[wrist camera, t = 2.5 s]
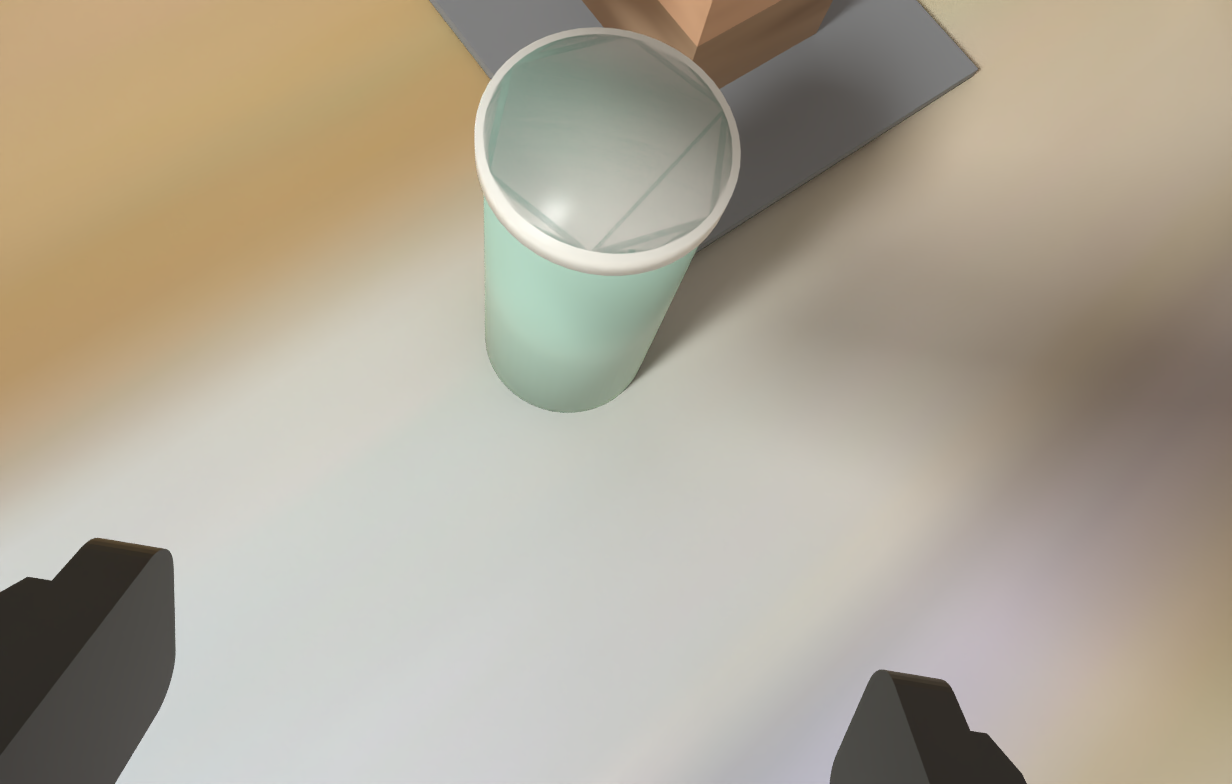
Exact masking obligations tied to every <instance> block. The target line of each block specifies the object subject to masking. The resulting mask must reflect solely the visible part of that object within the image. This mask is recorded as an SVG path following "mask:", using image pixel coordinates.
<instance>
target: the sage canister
mask: <svg viewBox="0 0 1232 784" xmlns="http://www.w3.org/2000/svg"><path fill="white" fill-rule="evenodd" d="M740 157H741V149H740V139H739V133H738V129H737V125H736V121H735V119H734V116H733V114H732V111H731V109H730V106H729V105H728V103H727V101H726V99H725V97H724V96H723V94H722V92H721V91H720V90H719V88H718V87H717V86H716V84H715V83H714V82H713V80H712V79H711V78H710V77H709V76H708V75H707V74H706V73H705V72H704V71H703V70H702V69H701V68H700V67H699V66H698V65H697V64H696V63H694V62H693V61H692V60H691V59H690V58H688V57H687V56H685V55H684V54H682V53H681V52H679V51H678V50H676V49H675V48H673V47H671V46H669V45H667V44H665V43H663V42H661V41H659V40H656V39H654V38H651V37H648V36H646V35H643V34H639V33H635V32H632V31H627V30H621V29H615V28H599V27H593V28H578V29H573V30H567V31H562V32H559V33H555V34H552V35H549V36H546V37H544V38H542V39H539V40H537V41H535V42H533V43H531V44H529V45H528V46H526V47H524V48H523V49H521V50H519V51H518V52H517V53H516V54H514V55H513V56H512V57H511V58H510V59H508V60H507V61H506V62H505V63H504V64H503V65H502V67H501V68H500V69H499V70H498V71H497V72H496V73H495V75H494V76H493V78H492V79H491V81H490V82H489V84H488V85H487V87H486V89H485V92H484V94H483V96H482V98H481V101H480V104H479V107H478V110H477V115H476V122H475V163H476V169H477V176H478V179H479V183H480V186H481V189H482V192H483V194H484V258H485V341H486V348H487V353H488V356H489V359H490V362H491V364H492V366H493V368H494V370H495V372H496V374H497V375H498V377H499V378H500V380H501V381H502V382H503V383H504V384H505V386H506V387H507V388H508V389H510V390H511V391H512V392H513V393H514V394H515V395H517V396H518V397H519V398H521V399H522V400H524V401H526V402H528V403H530V404H531V405H534V406H536V407H539V408H542V409H545V410H549V411H554V412H563V413H572V412H581V411H587V410H590V409H594V408H597V407H599V406H602V405H604V404H606V403H608V402H609V401H611V400H613V399H614V398H615V397H617V396H618V395H619V394H621V393H622V392H623V391H624V390H625V389H626V388H627V387H628V386H629V384H630V383H631V382H632V380H633V379H634V377H635V376H636V374H637V372H638V370H639V368H640V366H641V364H642V362H643V360H644V358H645V356H646V354H647V351H648V349H649V347H650V345H651V343H652V341H653V339H654V337H655V335H656V333H657V331H658V329H659V327H660V325H661V322H662V320H663V318H664V316H665V314H666V312H667V310H668V308H669V306H670V304H671V302H672V300H673V298H674V296H675V293H676V291H677V289H678V287H679V285H680V283H681V281H682V279H683V277H684V275H685V273H686V271H687V269H688V267H689V264H690V262H691V260H692V258H693V256H694V254H695V252H696V250H697V248H698V246H699V245H700V244H701V243H702V242H703V241H704V240H705V239H706V238H707V237H708V235H709V234H710V233H711V232H712V230H713V229H714V228H715V226H716V225H717V223H718V221H719V220H720V218H721V216H722V214H723V212H724V210H725V208H726V206H727V204H728V202H729V200H730V198H731V196H732V194H733V191H734V189H735V186H736V183H737V180H738V174H739V169H740Z"/></svg>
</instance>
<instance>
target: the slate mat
mask: <svg viewBox="0 0 1232 784" xmlns="http://www.w3.org/2000/svg"><path fill="white" fill-rule="evenodd" d="M429 1H430V2H431V3H432V4H433V6H434V7H435V8H436V10H437V11H438V12H439V13H440V15H441V16H442V17H443V19H444V20H445V21H446V22H447V24H448V25H449V26H450V28H451V29H452V30H453V32H454V33H455V34H456V35H457V37H458V38H459V39H460V41H461V42H462V43H463V44H464V46H465V47H466V48H467V50H468V51H469V52H470V53H471V55H472V56H473V57H474V59H475V60H476V61H477V62H478V64H479V65H480V66H481V68H482V69H483V70H484V72H485V73H486V74H487V75H488V77H489V78H490V79H492V78H493V76H494V75H495V73H496V72H497V71H498V70H499V69H500V68H501V67H502V65H503V64H504V63H505V62H506V61H507V60H508V59H510V58H511V57H512V56H513V55H514V54H516V53H517V52H518V51H519V50H521V49H523V48H524V47H526V46H528V45H529V44H531V43H533V42H535V41H537V40H539V39H542V38H544V37H546V36H549V35H552V34H555V33H559V32H562V31H567V30H573V29H578V28H593V27H599V28H604V27H603V26H602V25H601V23H600V22H599V21H598V20H597V18H596V17H595V16H594V15H593V14H592V12H591V11H590V10H589V9H588V7H587V6H586V5H585V4H584V3H583V1H582V0H429ZM977 70H978V68H977V67H976V66H975V65H974V64H973V62H972V61H971V60H970V59H969V58H968V57H967V56H966V55H965V54H964V52H963V51H962V50H961V49H960V48H959V47H958V46H957V45H956V44H955V42H954V41H953V40H952V39H951V38H950V37H949V36H948V35H947V34H946V32H945V31H944V30H943V29H942V28H941V27H940V26H939V25H938V24H937V22H936V21H935V20H934V19H933V18H932V17H931V16H930V15H929V14H928V12H927V11H926V10H925V9H924V8H923V7H922V6H921V5H920V4H919V3H918V1H917V0H833V1H832V3H831V5H830V7H829V9H828V11H827V13H826V15H825V17H824V19H823V21H822V23H821V25H820V27H819V29H818V31H817V33H816V34H814V35H812V36H811V37H809V38H807V39H805V40H804V41H802V42H800V43H798V44H797V45H795V46H793V47H791V48H790V49H788V50H786V51H785V52H783V53H781V54H779V55H778V56H776V57H774V58H772V59H771V60H769V61H767V62H765V63H764V64H762V65H760V66H759V67H757V68H755V69H753V70H752V71H750V72H748V73H746V74H745V75H743V76H741V77H739V78H738V79H736V80H734V81H733V82H731V83H729V84H727V85H726V86H724V87H722V88H720V89H719V90H720V91H721V92H722V94H723V96H724V97H725V99H726V101H727V103H728V105H729V106H730V109H731V111H732V114H733V116H734V119H735V121H736V125H737V129H738V133H739V139H740V149H741V157H740V169H739V174H738V180H737V183H736V186H735V189H734V191H733V194H732V196H731V198H730V200H729V202H728V204H727V206H726V208H725V210H724V212H723V214H722V216H721V218H720V220H719V221H718V223H717V225H716V226H715V228H714V229H713V230H712V232H711V233H710V234H709V235H708V237H707V238H706V239H705V240H704V241H703V242H702V243H701V244H700V245H699V246H698V248H697V250H696V252H698V251H699V250H701V249H703V248H704V247H706V246H707V245H709V244H710V243H712V242H714V241H715V240H717V239H718V238H720V237H721V236H723V235H725V234H726V233H728V232H729V231H731V230H732V229H734V228H735V227H737V226H739V225H740V224H742V223H743V222H745V221H746V220H748V219H750V218H751V217H753V216H754V215H756V214H757V213H759V212H761V211H762V210H764V209H765V208H767V207H768V206H770V205H772V204H773V203H775V202H776V201H778V200H779V199H781V198H783V197H784V196H786V195H787V194H789V193H790V192H792V191H793V190H795V189H797V188H798V187H800V186H801V185H803V184H804V183H806V182H808V181H809V180H811V179H812V178H814V177H815V176H817V175H819V174H820V173H822V172H823V171H825V170H826V169H828V168H830V167H831V166H833V165H834V164H836V163H837V162H839V161H841V160H842V159H844V158H845V157H847V156H848V155H850V154H852V153H853V152H855V151H856V150H858V149H859V148H861V147H862V146H864V145H866V144H867V143H869V142H870V141H872V140H873V139H875V138H877V137H878V136H880V135H881V134H883V133H884V132H886V131H888V130H889V129H891V128H892V127H894V126H895V125H897V124H899V123H900V122H902V121H903V120H905V119H906V118H908V117H910V116H911V115H913V114H914V113H916V112H917V111H919V110H921V109H922V108H924V107H925V106H927V105H928V104H930V103H931V102H933V101H935V100H936V99H938V98H939V97H941V96H942V95H944V94H946V93H947V92H949V91H950V90H952V89H953V88H955V87H957V86H958V85H960V84H961V83H963V82H964V81H966V80H968V79H969V78H971V77H972V76H973V75H974V74H975V73H976V71H977ZM696 252H695V253H696Z"/></svg>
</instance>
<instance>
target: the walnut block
mask: <svg viewBox="0 0 1232 784" xmlns="http://www.w3.org/2000/svg"><path fill="white" fill-rule="evenodd" d="M582 1H583V3H584V4H585V5H586V6H587V7H588V9H589V10H590V11H591V12H592V14H593V15H594V16H595V17H596V18H597V20H598V21H599V22H600V23H601V25H602V26H603V27H604V28H615V29H621V30H627V31H632V32H635V33H639V34H643V35H646V36H648V37H651V38H654V39H656V40H659V41H661V42H663V43H665V44H667V45H669V46H671V47H673V48H675V49H676V50H678V51H679V52H681V53H682V54H684V55H685V56H687V57H688V58H690V59H691V60H692V61H693V62H694V63H696V64H697V65H698V66H699V67H700V68H701V69H702V70H703V71H704V72H705V73H706V74H707V75H708V76H709V77H710V78H711V79H712V80H713V82H714V83H715V84H716V86H717V87H718V88H719V89H720V88H722V87H724V86H726V85H727V84H729V83H731V82H733V81H734V80H736V79H738V78H739V77H741V76H743V75H745V74H746V73H748V72H750V71H752V70H753V69H755V68H757V67H759V66H760V65H762V64H764V63H765V62H767V61H769V60H771V59H772V58H774V57H776V56H778V55H779V54H781V53H783V52H785V51H786V50H788V49H790V48H791V47H793V46H795V45H797V44H798V43H800V42H802V41H804V40H805V39H807V38H809V37H811V36H812V35H814V34H816V33H817V31H818V29H819V27H820V25H821V23H822V21H823V19H824V17H825V15H826V13H827V11H828V9H829V7H830V5H831V3H832V1H833V0H781V1H779V2H777V3H776V4H774V5H772V6H770V7H768V8H767V9H765V10H763V11H761V12H759V13H758V14H756V15H754V16H752V17H750V18H749V19H747V20H745V21H743V22H741V23H740V24H738V25H736V26H734V27H732V28H731V29H729V30H727V31H725V32H723V33H722V34H720V35H718V36H716V37H714V38H713V39H711V40H709V41H707V42H705V43H704V44H702V45H700V46H698V47H697V46H696V45H695V44H694V43H693V41H692V40H691V39H690V38H689V37H688V35H687V34H686V33H685V32H684V31H683V29H682V28H681V27H680V26H679V25H678V23H677V22H676V21H675V20H674V19H673V17H672V16H671V15H670V14H669V13H668V11H667V10H666V9H665V8H664V7H663V5H662V4H661V3H660V2H659V1H658V0H582Z"/></svg>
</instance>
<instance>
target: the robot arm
mask: <svg viewBox="0 0 1232 784" xmlns="http://www.w3.org/2000/svg"><path fill="white" fill-rule="evenodd" d="M174 663H175V608H174V566H173V558H172V555H171V553H170V552H169V551H168V550H167V549H163V548H157V547H151V546H145V545H139V544H133V543H126V542H120V541H114V540H108V539H102V538H94V539H91V540H90V541H88V542H87V543H86V544H84V545H83V546H82V547H81V549H80V550H79V551H78V552H77V553H76V554H75V555H74V556H73V558H72V559H71V560H70V561H69V562H68V563H67V564H66V565H65V566H64V568H63V569H62V570H61V571H60V572H59V573H58V574H57V575H56V577H55V578H54V579H53V580H52V581H50V580H44V579H38V578H32V577H26V578H25V579H23V580H21V581H19V582H18V583H16V584H14V585H12V586H10V587H9V588H7V589H5V590H3V591H2V592H0V784H115V782H116V781H117V779H118V777H119V776H120V774H121V772H122V771H123V769H124V767H125V766H126V764H127V763H128V761H129V759H130V758H131V756H132V754H133V753H134V751H135V749H136V748H137V746H138V744H139V743H140V741H141V739H142V738H143V736H144V734H145V733H146V731H147V729H148V728H149V726H150V724H151V723H152V721H153V719H154V718H155V716H156V714H157V713H158V711H159V709H160V707H161V705H162V703H163V701H164V698H165V696H166V693H167V690H168V688H169V685H170V681H171V678H172V673H173V669H174ZM830 784H1027V783H1026V781H1025V779H1024V777H1023V775H1022V773H1021V772H1020V771H1019V770H1018V769H1017V768H1016V766H1015V765H1014V764H1013V763H1012V762H1011V761H1010V760H1009V758H1008V757H1007V756H1006V755H1005V754H1004V753H1003V751H1002V750H1001V749H1000V748H999V747H998V746H997V744H996V743H995V742H994V741H993V740H992V739H991V738H990V736H989V735H988V734H986V733H980V732H974V731H970V729H969V727H968V724H967V722H966V720H965V717H964V715H963V713H962V710H961V708H960V706H959V703H958V701H957V699H956V696H955V694H954V692H953V690H952V688H951V687H950V685H949V684H948V683H947V682H946V681H944V680H942V679H936V678H930V677H924V676H918V675H912V674H906V673H900V672H894V671H888V670H878V671H876V672H875V673H874V674H873V675H872V677H871V678H870V680H869V682H868V684H867V687H866V689H865V691H864V693H863V696H862V698H861V700H860V702H859V705H858V707H857V709H856V711H855V714H854V716H853V718H852V721H851V723H850V725H849V727H848V730H847V732H846V734H845V736H844V739H843V741H842V743H841V746H840V748H839V750H838V752H837V755H836V757H835V760H834V763H833V766H832V771H831V777H830Z"/></svg>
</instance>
